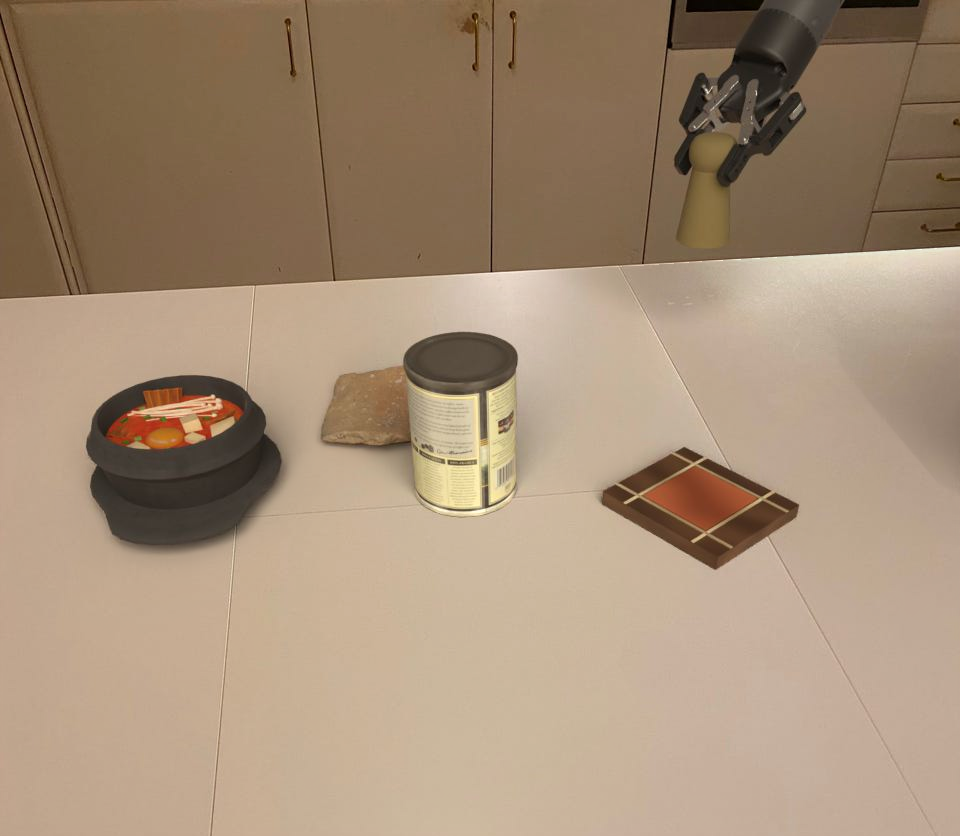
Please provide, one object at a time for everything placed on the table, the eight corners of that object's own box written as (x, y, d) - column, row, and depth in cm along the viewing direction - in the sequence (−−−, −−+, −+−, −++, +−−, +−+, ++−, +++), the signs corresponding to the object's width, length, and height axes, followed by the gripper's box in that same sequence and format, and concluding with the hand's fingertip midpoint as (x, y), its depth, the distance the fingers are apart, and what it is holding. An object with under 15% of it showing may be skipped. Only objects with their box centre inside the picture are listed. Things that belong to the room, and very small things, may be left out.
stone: (438, 389, 113) (437, 363, 111) (408, 460, 101) (406, 432, 99) (345, 383, 114) (342, 357, 112) (306, 452, 103) (301, 425, 101)
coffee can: (423, 457, 102) (414, 328, 93) (522, 463, 101) (523, 333, 91) (403, 514, 95) (392, 380, 85) (510, 521, 93) (510, 386, 84)
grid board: (682, 459, 101) (684, 445, 100) (796, 517, 93) (800, 503, 92) (601, 504, 95) (602, 490, 94) (715, 570, 87) (718, 556, 86)
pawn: (674, 247, 111) (686, 141, 103) (676, 228, 115) (687, 125, 108) (729, 249, 110) (745, 143, 103) (729, 230, 114) (744, 127, 107)
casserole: (116, 429, 107) (94, 357, 102) (287, 416, 109) (275, 344, 103) (73, 569, 89) (44, 492, 83) (280, 552, 90) (265, 474, 85)
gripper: (854, 66, 104) (764, 212, 106) (744, 46, 112) (663, 181, 114) (836, 14, 98) (741, 170, 100) (720, -3, 106) (635, 141, 108)
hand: (700, 175), depth 107 cm, fingers closed on pawn, 5 cm apart
